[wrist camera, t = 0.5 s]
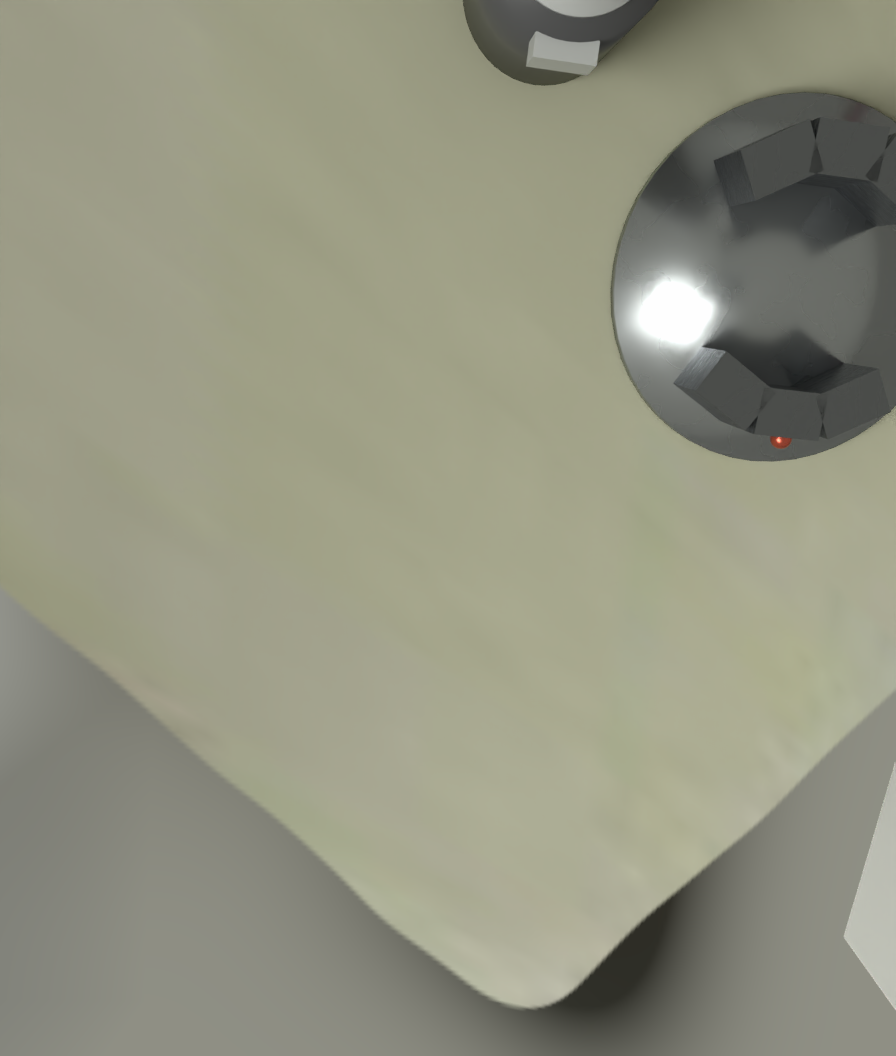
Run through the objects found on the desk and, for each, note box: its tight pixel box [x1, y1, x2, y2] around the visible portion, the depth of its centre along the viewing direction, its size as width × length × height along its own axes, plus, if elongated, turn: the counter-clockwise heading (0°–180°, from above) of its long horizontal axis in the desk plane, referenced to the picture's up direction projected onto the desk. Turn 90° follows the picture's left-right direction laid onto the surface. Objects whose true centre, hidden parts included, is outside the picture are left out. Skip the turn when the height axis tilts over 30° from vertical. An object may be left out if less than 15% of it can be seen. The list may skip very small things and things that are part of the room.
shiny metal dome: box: [611, 92, 896, 461], centre depth 33 cm, size 14×14×3 cm
